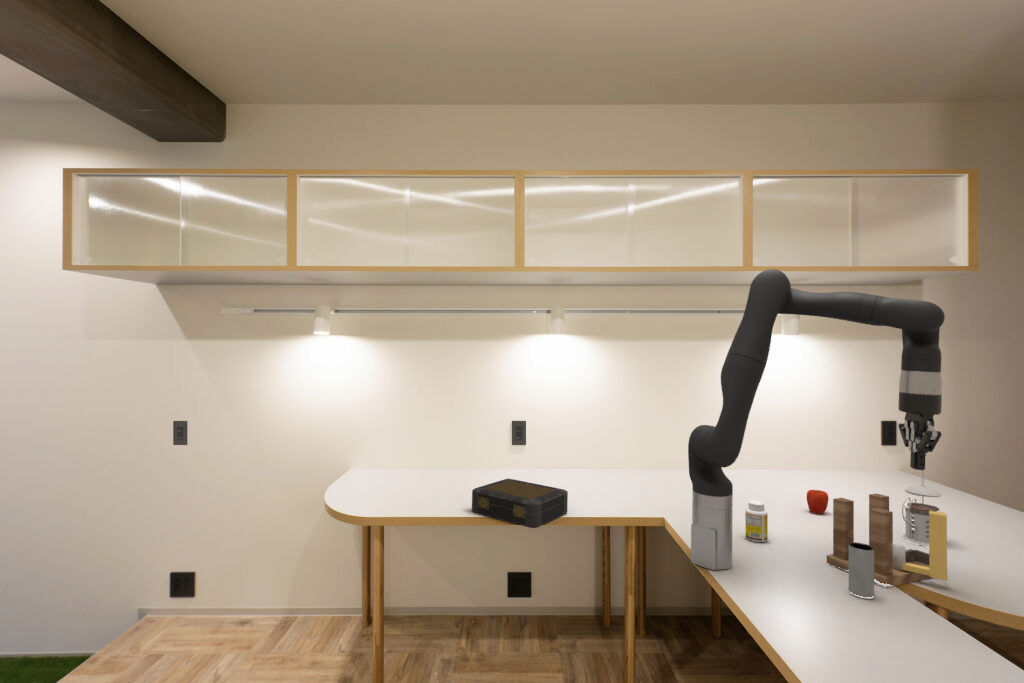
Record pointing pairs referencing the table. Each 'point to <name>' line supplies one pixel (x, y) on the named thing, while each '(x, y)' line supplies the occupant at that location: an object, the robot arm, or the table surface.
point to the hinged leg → (935, 550)
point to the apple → (817, 501)
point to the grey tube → (861, 569)
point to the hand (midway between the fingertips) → (917, 469)
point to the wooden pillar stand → (873, 541)
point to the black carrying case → (520, 502)
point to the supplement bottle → (756, 522)
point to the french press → (919, 514)
